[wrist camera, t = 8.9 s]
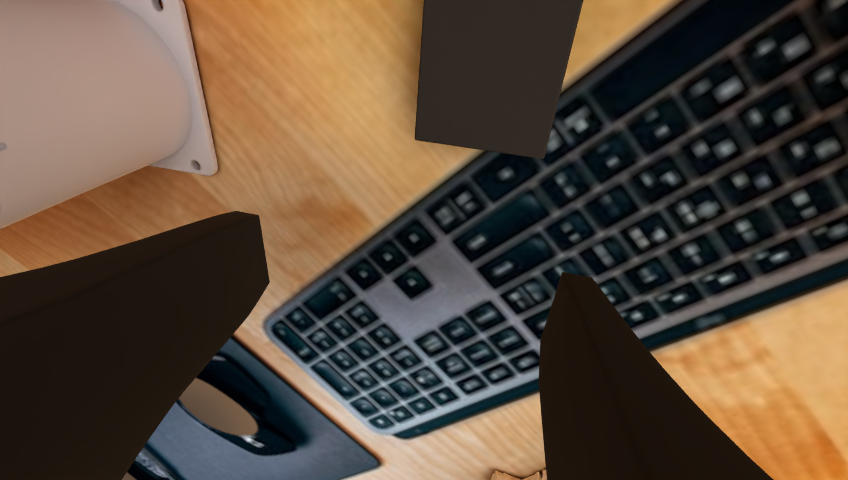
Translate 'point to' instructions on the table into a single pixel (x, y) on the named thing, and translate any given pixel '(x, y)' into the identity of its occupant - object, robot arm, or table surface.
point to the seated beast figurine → (505, 479)
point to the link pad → (493, 72)
